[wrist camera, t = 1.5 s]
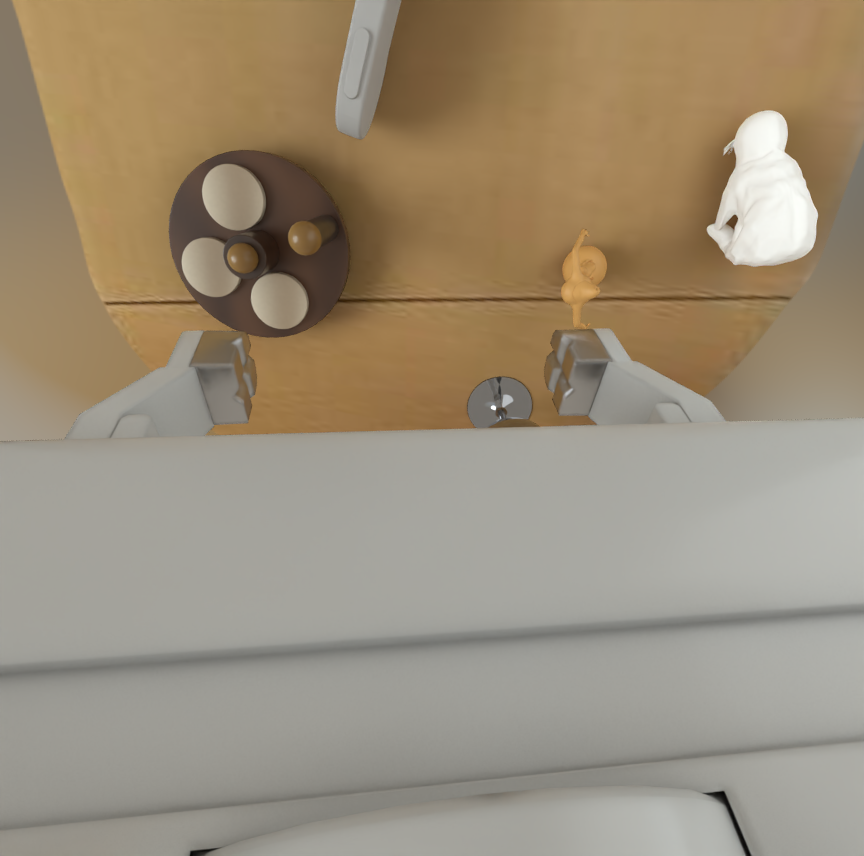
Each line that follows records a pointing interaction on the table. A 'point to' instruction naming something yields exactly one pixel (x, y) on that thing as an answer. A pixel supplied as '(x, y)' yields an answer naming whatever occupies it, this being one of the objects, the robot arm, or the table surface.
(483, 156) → the table surface
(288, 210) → the brown round base
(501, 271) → the table surface
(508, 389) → the wine glass
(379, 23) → the game controller
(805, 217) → the white seated statue
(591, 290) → the figurine
